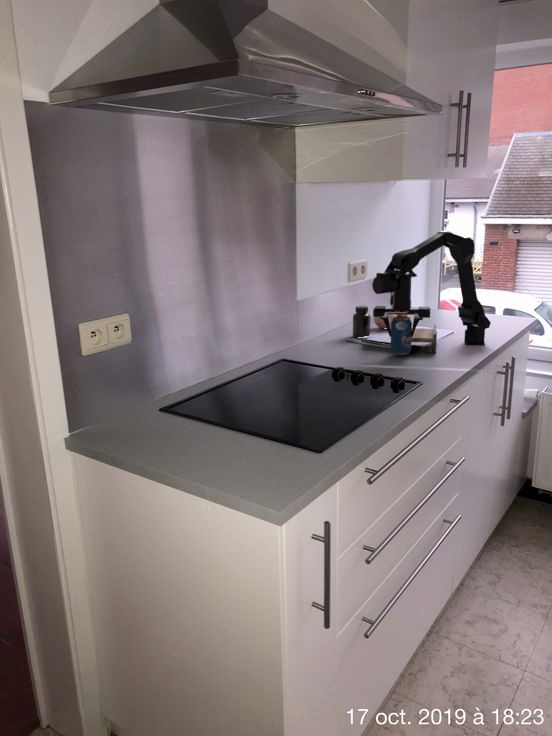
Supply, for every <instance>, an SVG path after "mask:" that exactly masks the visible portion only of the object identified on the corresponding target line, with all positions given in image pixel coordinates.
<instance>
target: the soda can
mask: <svg viewBox="0 0 552 736" xmlns="http://www.w3.org/2000/svg"><path fill="white" fill-rule="evenodd" d="M412 327H413V321H412V320H411V317H409V316H407V317H402V316H400V317H394V318H393V320H392V322H391V337H390V351H391V353H392V354H395V355H407V354H410V352H411V350H412V342H411V339H412V337H411V333H412Z"/></svg>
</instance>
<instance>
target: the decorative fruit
mask: <svg viewBox="0 0 552 736" xmlns="http://www.w3.org/2000/svg"><path fill="white" fill-rule="evenodd" d="M386 309H392V308H391V307H388V308H387V307H386ZM389 315H390V325H391V322H392V320H393V318H394V317H397V316H396V314H389ZM373 321H374V323H375V324H374V325H376V326H377V327H378V328H379V329H381V328H387V327H386V325H385V323H384V321H383V320H382V319H380V317H373Z"/></svg>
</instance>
